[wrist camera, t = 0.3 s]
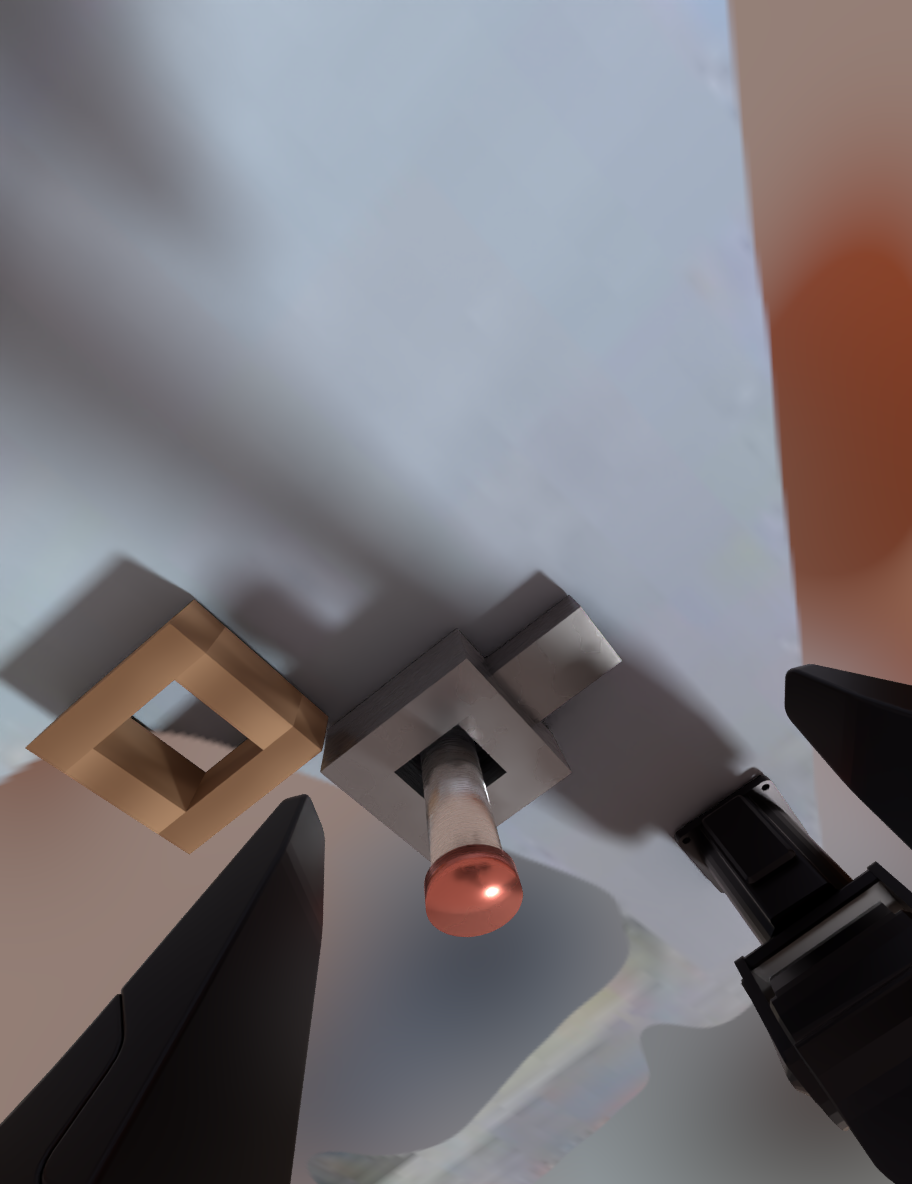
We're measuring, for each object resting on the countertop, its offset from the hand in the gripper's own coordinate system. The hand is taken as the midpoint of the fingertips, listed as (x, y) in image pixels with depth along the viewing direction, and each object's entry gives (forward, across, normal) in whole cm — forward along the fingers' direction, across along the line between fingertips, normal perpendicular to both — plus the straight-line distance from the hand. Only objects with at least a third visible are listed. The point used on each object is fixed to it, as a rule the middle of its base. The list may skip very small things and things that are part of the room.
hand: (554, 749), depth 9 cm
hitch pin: (+14, +3, +9) cm, 16 cm away
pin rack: (+13, +13, +4) cm, 19 cm away
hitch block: (+14, 0, +8) cm, 16 cm away
